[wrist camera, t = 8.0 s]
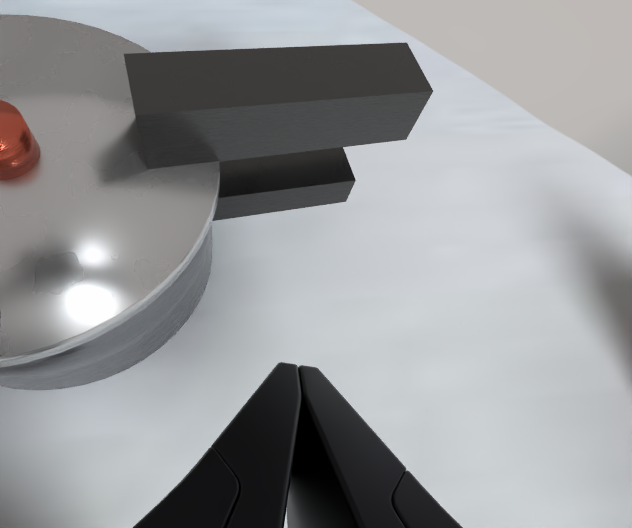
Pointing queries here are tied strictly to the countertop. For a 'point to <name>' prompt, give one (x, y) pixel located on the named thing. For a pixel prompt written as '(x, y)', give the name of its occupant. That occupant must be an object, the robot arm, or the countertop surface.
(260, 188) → the cooker pot
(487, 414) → the countertop surface
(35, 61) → the cooker lid
